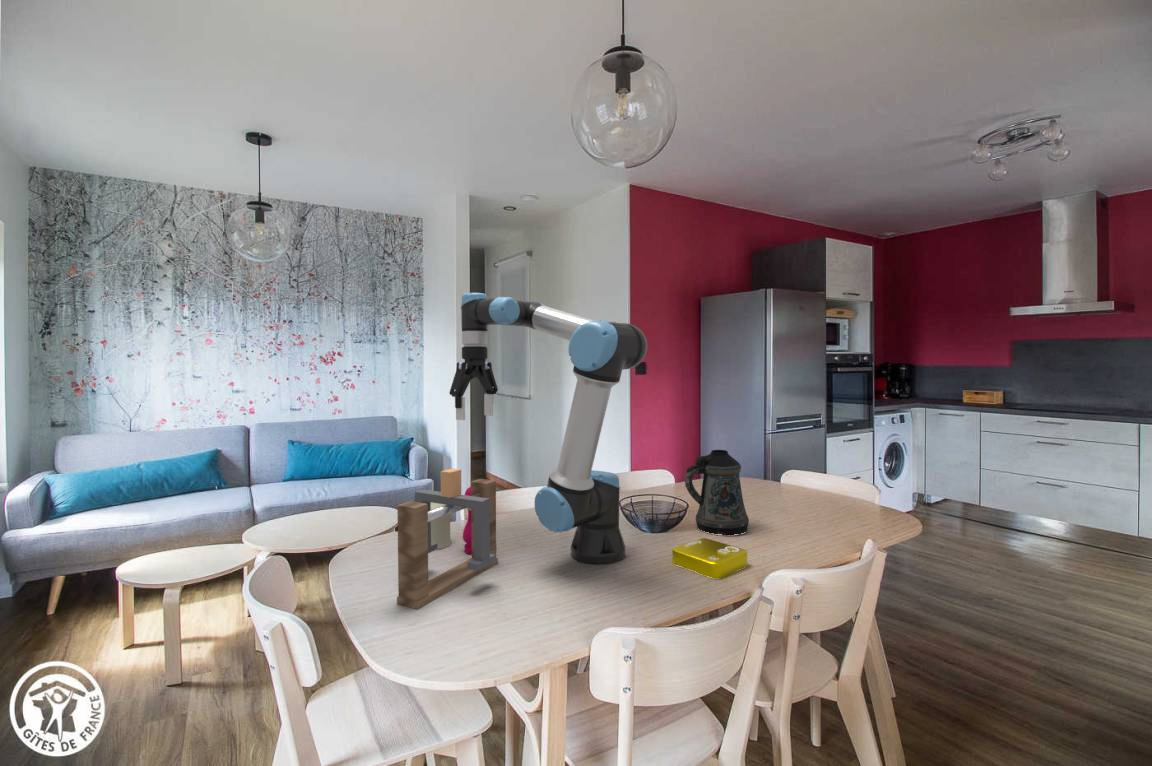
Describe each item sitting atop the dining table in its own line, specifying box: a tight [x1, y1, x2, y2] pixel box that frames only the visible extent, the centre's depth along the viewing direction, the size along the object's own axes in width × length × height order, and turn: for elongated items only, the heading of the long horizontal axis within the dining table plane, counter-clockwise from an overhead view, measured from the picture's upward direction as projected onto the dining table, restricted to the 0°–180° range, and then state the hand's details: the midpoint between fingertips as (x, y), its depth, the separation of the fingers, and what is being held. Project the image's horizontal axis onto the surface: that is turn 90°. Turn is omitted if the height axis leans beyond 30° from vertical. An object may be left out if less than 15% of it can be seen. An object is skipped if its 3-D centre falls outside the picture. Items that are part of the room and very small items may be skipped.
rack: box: [396, 478, 499, 610], centre depth 132 cm, size 6×30×22 cm, turn 153°
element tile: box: [671, 537, 748, 579], centre depth 144 cm, size 15×15×5 cm
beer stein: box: [684, 449, 750, 535], centre depth 173 cm, size 16×19×25 cm
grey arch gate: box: [414, 468, 497, 571], centre depth 132 cm, size 21×7×22 cm, turn 63°
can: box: [431, 502, 452, 550], centre depth 159 cm, size 9×9×12 cm
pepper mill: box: [462, 486, 472, 555], centre depth 153 cm, size 7×7×20 cm
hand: (475, 417), depth 162 cm, fingers open, 13 cm apart
